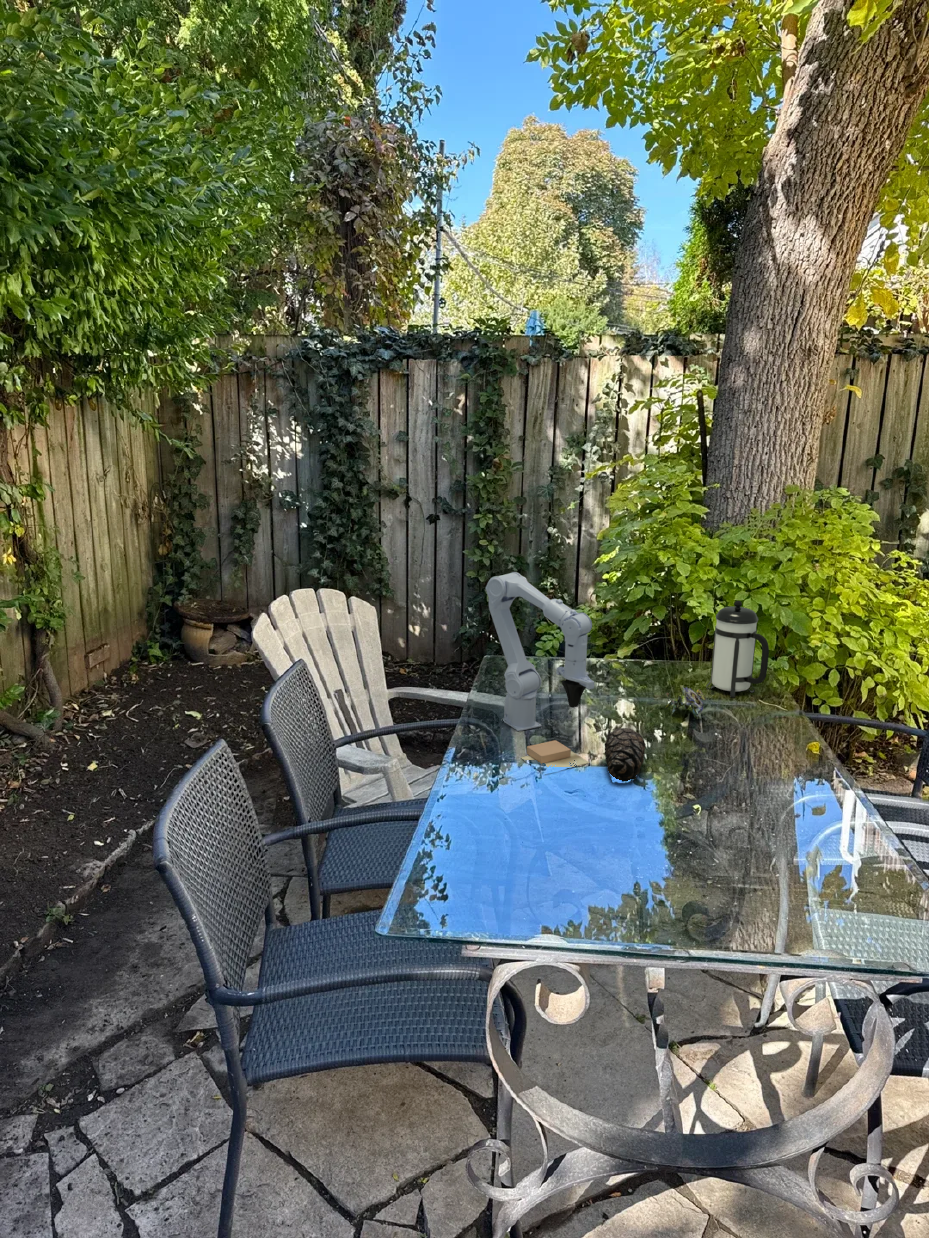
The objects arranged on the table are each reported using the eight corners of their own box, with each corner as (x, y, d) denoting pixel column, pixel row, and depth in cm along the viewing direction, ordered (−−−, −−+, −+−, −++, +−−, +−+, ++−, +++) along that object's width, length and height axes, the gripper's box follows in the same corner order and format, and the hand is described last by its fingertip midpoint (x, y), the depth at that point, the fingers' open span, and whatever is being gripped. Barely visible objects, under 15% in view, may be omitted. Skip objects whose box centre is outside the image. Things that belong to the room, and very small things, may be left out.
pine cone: (606, 786, 191) (608, 748, 189) (602, 756, 208) (604, 720, 206) (650, 789, 190) (652, 750, 188) (642, 758, 207) (644, 722, 205)
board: (520, 758, 206) (520, 757, 206) (564, 748, 213) (564, 746, 213) (544, 775, 197) (544, 773, 197) (589, 763, 203) (589, 762, 203)
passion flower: (696, 735, 235) (708, 713, 226) (659, 726, 237) (670, 704, 227) (698, 704, 243) (710, 682, 233) (663, 696, 244) (673, 673, 234)
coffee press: (706, 696, 252) (713, 605, 245) (706, 681, 267) (713, 594, 259) (764, 702, 247) (773, 609, 240) (761, 686, 262) (770, 597, 254)
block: (526, 746, 208) (541, 756, 202) (555, 740, 212) (570, 749, 206) (526, 753, 208) (541, 764, 202) (555, 747, 212) (570, 757, 206)
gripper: (604, 663, 208) (602, 712, 211) (571, 649, 220) (570, 695, 224) (582, 667, 205) (580, 717, 208) (550, 653, 217) (549, 700, 220)
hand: (573, 706), depth 215 cm, fingers closed
